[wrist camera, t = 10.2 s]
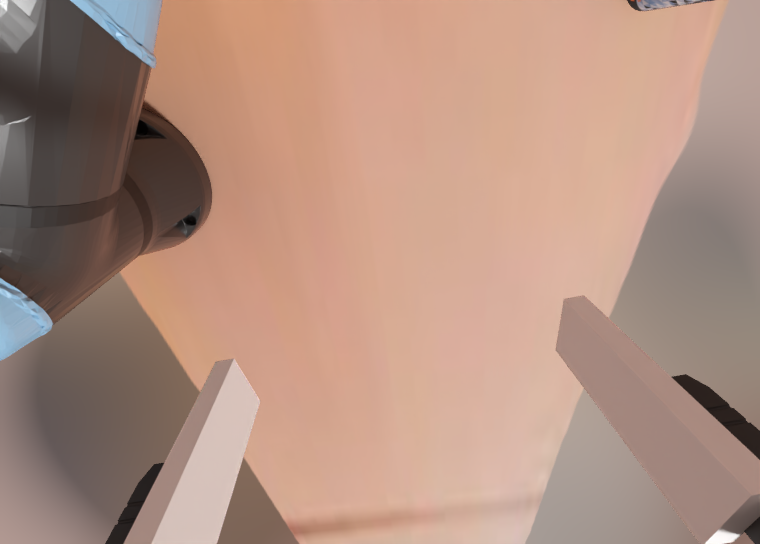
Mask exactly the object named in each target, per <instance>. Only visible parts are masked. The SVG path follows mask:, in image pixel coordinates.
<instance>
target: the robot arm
mask: <svg viewBox="0 0 760 544" xmlns="http://www.w3.org/2000/svg"><path fill="white" fill-rule="evenodd" d="M161 7H162V0H0V361H1V360H3V359H5V358H7V357H8V356H10V355H11V354H13V353H14V352H16V351H17V350H19V349H20V348H22V347H23V346H25V345H27V344H28V343H30V342H31V341H33V340H34V339H36V338H38V337H39V336H42V335H44V334H45V333H47V332H48V331H50V330H51V329H52V326H53V325H54V324H55V323H56V322H58V321H59V320H60V319H61V318H62V317H64V316H65V315H66V314H67V313H69V312H70V311H71V310H72V309H74V308H75V307H76V306H77V305H78V304H80V303H81V302H82V301H83V300H85V299H86V298H87V297H88V296H90V295H91V294H92V293H93V292H95V291H96V290H97V289H98V288H100V287H101V286H102V285H103V284H104V283H106V282H107V281H108V280H109V279H111V278H112V277H113V276H114V275H115V274H117V273H118V272H119V271H121V270H122V269H123V268H124V267H125V266H127V265H128V264H129V263H130V262H132V261H133V260H134V259H135V258H137V257H138V256H140V255H144V254H148V253H152V252H156V251H160V250H164V249H168V248H171V247H174V246H176V245H179V244H180V243H182V242H184V241H186V240H187V239H188V238H190V237H191V236H192V235H193V234H194V233H195V232H196V231H197V230H199V229H200V228H201V226H202V225H203V224H204V222H205V221H206V219H207V217H208V215H209V212H210V209H211V203H212V190H211V183H210V179H209V176H208V173H207V170H206V168H205V166H204V164H203V162H202V160H201V158H200V157H199V155H198V153H197V152H196V150H195V149H194V148H193V146H192V145H191V144H190V143H189V142H188V140H187V139H186V138H185V137H184V136H183V135H182V134H181V133H180V132H179V131H178V130H177V129H175V128H174V127H173V126H172V125H170V124H169V123H168V122H166V121H165V120H163V119H162V118H160V117H159V116H157V115H155V114H154V113H152V112H150V111H148V110H146V109H143V108H142V105H143V101H144V97H145V93H146V88H147V84H148V80H149V76H150V72H151V68H155V67H156V58H155V56H154V54H153V53H154V47H155V41H156V36H157V30H158V24H159V18H160V12H161ZM556 351H557V352H558V354H559V355H560V356H561V358H562V359H563V360H564V362H565V363H566V364H567V366H568V367H569V369H570V370H571V371H572V373H573V374H574V375H575V377H576V378H577V379H578V381H579V382H580V383H581V385H582V386H583V387H584V389H585V390H586V391H587V393H588V394H589V395H590V397H591V398H592V399H593V401H594V402H595V403H596V405H597V406H598V408H599V409H600V410H601V411H602V413H603V414H604V416H605V417H606V418H607V420H608V421H609V422H610V423H611V425H612V426H613V428H614V429H615V430H616V432H617V433H618V434H619V436H620V437H621V438H622V440H623V441H624V442H625V444H626V445H627V446H628V448H629V449H630V451H631V452H632V453H633V455H634V456H635V457H636V458H637V460H638V461H639V463H640V464H641V465H642V467H643V468H644V469H645V471H646V472H647V473H648V475H649V476H650V477H651V479H652V480H653V481H654V483H655V484H656V486H657V487H658V488H659V490H660V491H661V492H662V494H663V495H664V496H665V498H666V499H667V500H668V502H669V503H670V504H671V506H672V507H673V508H674V510H675V511H676V512H677V514H678V515H679V516H680V518H681V519H682V520H683V522H684V523H685V524H686V526H687V527H688V529H689V530H690V531H691V533H692V534H693V535H694V537H695V538H696V539H697V541H698V542H699V543H700V544H723V543H729V542H734V541H735V540H736V539H737V538H739V536H741V535H742V534H743V533H744V532H745V533H746V534H747V535H748V536H749V538H750V539H751V540H752V541H753V542H754V543H755V544H760V431H759V430H758V429H757V428H756V427H755V426H753V425H752V424H751V423H748V422H747V421H746V419H745V418H744V417H743V416H742V415H741V414H740V413H738V412H737V411H736V410H735V409H734V408H731V407H730V406H729V404H728V403H727V402H725V400H723V399H722V398H721V397H720V396H719V395H718V394H716V393H715V392H714V391H713V390H712V389H710V388H709V387H708V386H706V385H704V384H702V383H700V382H699V381H697V380H695V379H693V378H691V377H690V376H688V375H686V374H685V375H680V376H674V377H671V376H669V375H668V374H667V373H666V372H665V371H664V370H663V369H662V368H661V367H660V366H659V365H658V364H657V363H656V362H655V361H654V360H652V359H651V358H650V357H649V356H648V355H647V354H646V353H645V352H644V351H643V350H642V349H641V348H639V347H638V346H637V345H636V344H635V343H634V342H633V341H632V340H631V339H630V338H629V337H628V336H627V335H626V334H625V333H623V331H621V330H620V329H619V328H618V327H617V326H616V325H615V324H614V323H613V322H612V321H611V320H610V319H609V318H608V317H607V316H605V315H604V314H603V313H602V312H601V311H600V310H599V309H598V308H597V307H596V306H595V305H594V304H593V303H592V302H590V301H589V300H588V299H587V298H586V297H585V296H578V297H573V298H567V299H564V302H563V308H562V314H561V320H560V326H559V332H558V338H557V344H556ZM259 404H260V400H259V398H258V397H257V395H256V393H255V392H254V390H253V388H252V387H251V385H250V384H249V382H248V380H247V379H246V377H245V375H244V374H243V372H242V371H241V369H240V367H239V366H238V364H237V362H236V361H235V359H229V360H223V361H218V362H215V364H214V366H213V368H212V370H211V372H210V374H209V376H208V378H207V380H206V382H205V384H204V386H203V388H202V390H201V392H200V394H199V396H198V398H197V400H196V402H195V404H194V406H193V408H192V410H191V412H190V414H189V416H188V418H187V420H186V421H185V423H184V426H183V427H182V429H181V431H180V433H179V435H178V437H177V439H176V441H175V443H174V445H173V447H172V449H171V451H170V453H169V455H168V457H167V459H166V461H165V463H159V464H154V465H153V466H152V468H151V469H150V470H149V471H148V472H147V474H146V475H145V476H144V477H143V478H142V480H141V481H140V482H139V483H138V485H137V487H136V488H135V490H134V492H133V494H132V496H131V498H130V500H129V501H128V503H127V504H128V506H127V507H126V508H125V509H124V511H123V512H122V514H121V516H120V518H119V520H118V524H117V525H115V527H114V529H113V530H112V532H111V534H110V536H109V538H108V540H107V541H106V543H105V544H217V541H218V538H219V535H220V531H221V528H222V525H223V522H224V518H225V515H226V511H227V508H228V505H229V502H230V498H231V495H232V492H233V489H234V486H235V482H236V479H237V475H238V472H239V469H240V466H241V463H242V459H243V456H244V453H245V450H246V446H247V443H248V440H249V436H250V433H251V430H252V427H253V423H254V420H255V417H256V413H257V410H258V407H259Z"/></svg>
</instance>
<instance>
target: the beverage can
mask: <svg viewBox="0 0 760 544" xmlns="http://www.w3.org/2000/svg"><path fill="white" fill-rule="evenodd" d="M627 1H628V3H629V4H630V6H631V7H632V8H634V9H635V10H638V11H649V10H655V9H662V8H668V7H675V6H681V5H687V4H694V3H700V2H706V1H713V0H627Z"/></svg>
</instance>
